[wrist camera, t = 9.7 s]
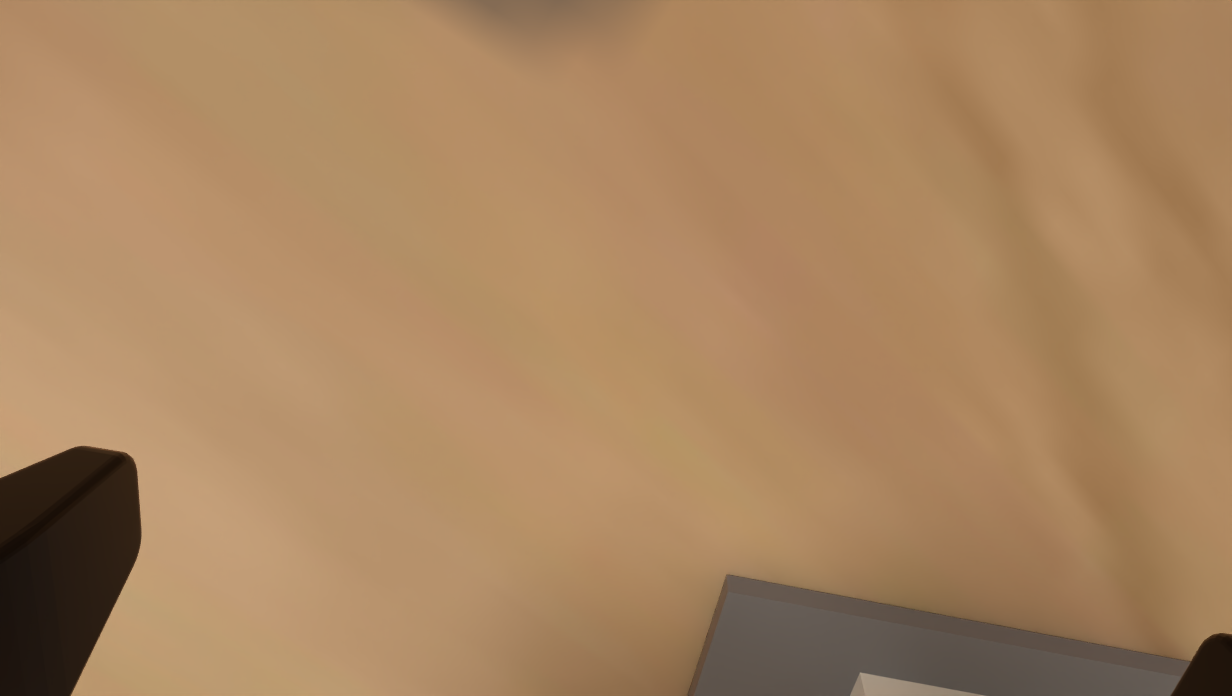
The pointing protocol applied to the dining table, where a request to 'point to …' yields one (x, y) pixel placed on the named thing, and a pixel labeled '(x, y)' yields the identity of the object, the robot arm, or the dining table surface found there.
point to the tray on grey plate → (900, 652)
